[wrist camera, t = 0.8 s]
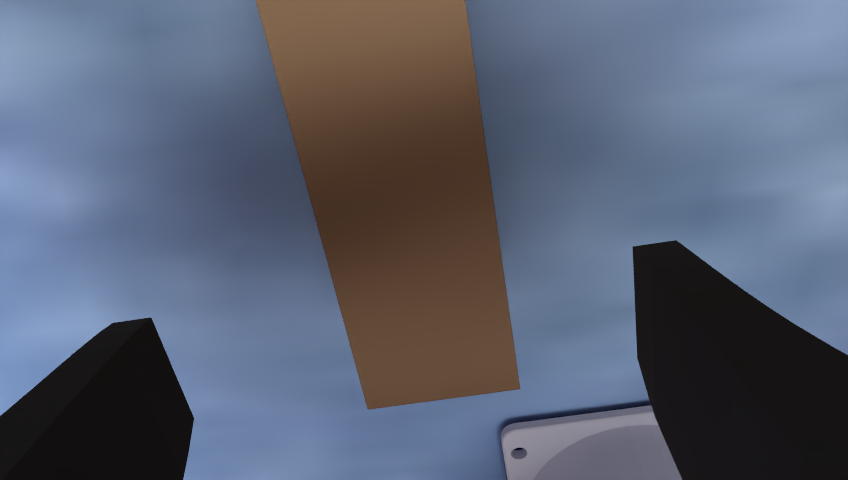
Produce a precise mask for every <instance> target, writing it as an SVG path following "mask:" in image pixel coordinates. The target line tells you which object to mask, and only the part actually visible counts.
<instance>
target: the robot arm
mask: <svg viewBox="0 0 848 480" xmlns="http://www.w3.org/2000/svg"><path fill="white" fill-rule="evenodd" d="M633 264H634V288H635V311H636V335H637V358H638V362H639V365H640V369H641V372H642V376H643V379H644V382H645V386H646V389H647V393H648V396H649V399H650V403H651V405H649V406H642V407H634V408H627V409H619V410H611V411H604V412H596V413H588V414H581V415H573V416H565V417H558V418H550V419H542V420H535V421H527V422H519V423H513V424H510V425H508V426H506V427H505V428H504V429H503V430H502V432H501V442H502V449H503V455H504V461H505V467H506V473H507V479H508V480H848V355H846V354H844V353H843V352H841V351H839V350H837V349H835V348H834V347H832V346H830V345H829V344H827V343H825V342H824V341H822V340H820V339H819V338H817V337H815V336H814V335H812V334H810V333H808V332H807V331H805V330H803V329H802V328H800V327H798V326H797V325H795V324H794V323H792V322H790V321H789V320H787V319H786V318H784V317H783V316H781V315H780V314H778V313H776V312H775V311H773V310H772V309H770V308H769V307H767V306H766V305H764V304H763V303H761V302H760V301H759V300H757V299H756V298H754V297H753V296H751V295H750V294H748V293H747V292H746V291H744V290H743V289H741V288H740V287H738V286H737V285H736V284H734V283H733V282H731V281H730V280H729V279H727V278H726V277H725V276H723V275H722V274H721V273H719V272H718V271H716V270H715V269H714V268H712V267H711V266H710V265H708V264H707V263H706V262H704V261H703V260H702V259H700V258H699V257H698V256H696V255H695V254H694V253H692V252H691V251H690V250H688V249H687V248H686V247H684V246H683V245H682V244H680V243H679V242H677V241H676V240H675V241H668V242H662V243H655V244H648V245H641V246H634V247H633ZM193 421H194V417H193V415H192V412H191V410H190V408H189V405H188V403H187V401H186V398H185V396H184V394H183V391H182V389H181V387H180V384H179V382H178V380H177V377H176V375H175V373H174V370H173V368H172V365H171V363H170V361H169V358H168V356H167V354H166V351H165V349H164V347H163V344H162V342H161V340H160V337H159V335H158V333H157V330H156V328H155V325H154V323H153V321H152V318H144V319H137V320H131V321H124V322H117V323H112V324H111V325H109V326H108V327H106V328H105V329H104V330H102V331H101V332H100V333H98V334H97V335H96V336H94V337H93V338H92V339H91V340H89V341H88V342H87V343H86V344H84V345H83V346H82V347H81V348H80V349H78V350H77V351H76V352H75V353H74V354H72V355H71V356H70V357H69V358H68V359H67V360H65V361H64V362H63V363H62V364H61V365H60V366H58V367H57V368H56V369H55V370H54V371H53V372H51V373H50V374H49V375H48V376H47V377H46V378H44V379H43V380H42V381H41V382H40V383H39V384H37V385H36V386H35V387H34V388H33V389H32V390H30V391H29V392H28V393H27V394H26V395H25V396H23V397H22V398H21V399H20V400H19V401H18V402H16V403H15V404H14V405H13V406H12V407H11V408H9V409H8V410H7V411H6V412H5V413H3V414H2V415H1V416H0V480H183V477H184V472H185V467H186V462H187V457H188V452H189V446H190V440H191V434H192V427H193ZM515 448H523V449H521V450H513V449H515Z"/></svg>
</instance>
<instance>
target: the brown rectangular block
mask: <svg viewBox="0 0 848 480" xmlns="http://www.w3.org/2000/svg"><path fill="white" fill-rule="evenodd" d="M256 3H257V7H258V10H259V14H260V18H261V21H262V25H263V28H264V32H265V36H266V39H267V43H268V47H269V50H270V54H271V58H272V61H273V65H274V69H275V72H276V76H277V80H278V83H279V87H280V91H281V94H282V98H283V102H284V105H285V109H286V112H287V116H288V120H289V123H290V127H291V131H292V134H293V138H294V142H295V145H296V149H297V153H298V156H299V160H300V164H301V167H302V171H303V175H304V178H305V182H306V185H307V189H308V193H309V196H310V200H311V204H312V207H313V211H314V215H315V218H316V222H317V226H318V229H319V233H320V237H321V240H322V244H323V248H324V251H325V255H326V259H327V262H328V266H329V269H330V273H331V277H332V280H333V284H334V288H335V291H336V295H337V299H338V302H339V306H340V310H341V313H342V317H343V321H344V324H345V328H346V332H347V335H348V339H349V342H350V346H351V350H352V353H353V357H354V361H355V364H356V368H357V372H358V375H359V379H360V383H361V386H362V390H363V394H364V397H365V401H366V405H367V408H368V409H375V408H383V407H390V406H397V405H405V404H412V403H420V402H427V401H435V400H442V399H450V398H457V397H465V396H472V395H480V394H487V393H495V392H502V391H510V390H517V389H520V384H519V377H518V370H517V363H516V356H515V349H514V342H513V335H512V328H511V321H510V314H509V306H508V299H507V292H506V285H505V278H504V271H503V264H502V257H501V250H500V243H499V236H498V229H497V222H496V215H495V208H494V201H493V194H492V187H491V179H490V172H489V165H488V158H487V151H486V144H485V137H484V130H483V123H482V116H481V109H480V102H479V95H478V88H477V81H476V74H475V67H474V59H473V52H472V45H471V38H470V31H469V24H468V17H467V10H466V3H465V0H256Z"/></svg>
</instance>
